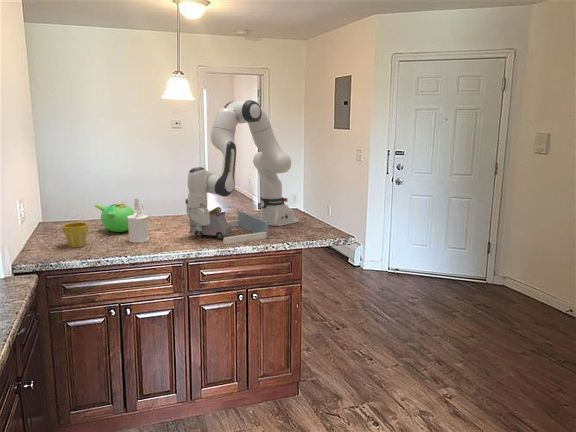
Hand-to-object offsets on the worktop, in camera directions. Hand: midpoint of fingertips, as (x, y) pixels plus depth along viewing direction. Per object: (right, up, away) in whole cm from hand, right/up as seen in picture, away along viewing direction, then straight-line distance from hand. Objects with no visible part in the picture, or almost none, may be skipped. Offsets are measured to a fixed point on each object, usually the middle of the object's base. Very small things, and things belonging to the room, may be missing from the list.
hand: (198, 230), depth 226 cm
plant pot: (-52, -7, -13) cm, 54 cm away
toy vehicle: (+5, -3, +5) cm, 8 cm away
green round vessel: (-43, -1, +12) cm, 45 cm away
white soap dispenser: (-28, -5, -4) cm, 28 cm away
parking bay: (+15, -2, +10) cm, 18 cm away
